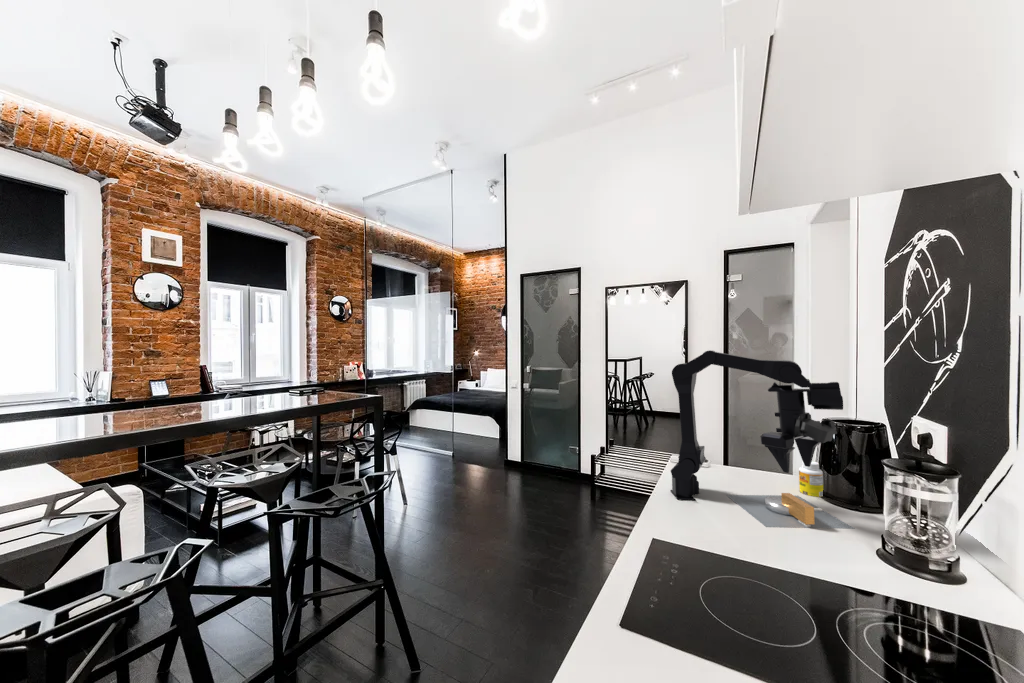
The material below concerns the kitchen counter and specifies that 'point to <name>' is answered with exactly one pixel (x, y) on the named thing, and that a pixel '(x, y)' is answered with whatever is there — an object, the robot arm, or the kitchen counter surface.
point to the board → (771, 519)
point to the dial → (790, 507)
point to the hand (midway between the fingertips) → (797, 469)
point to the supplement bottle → (811, 480)
